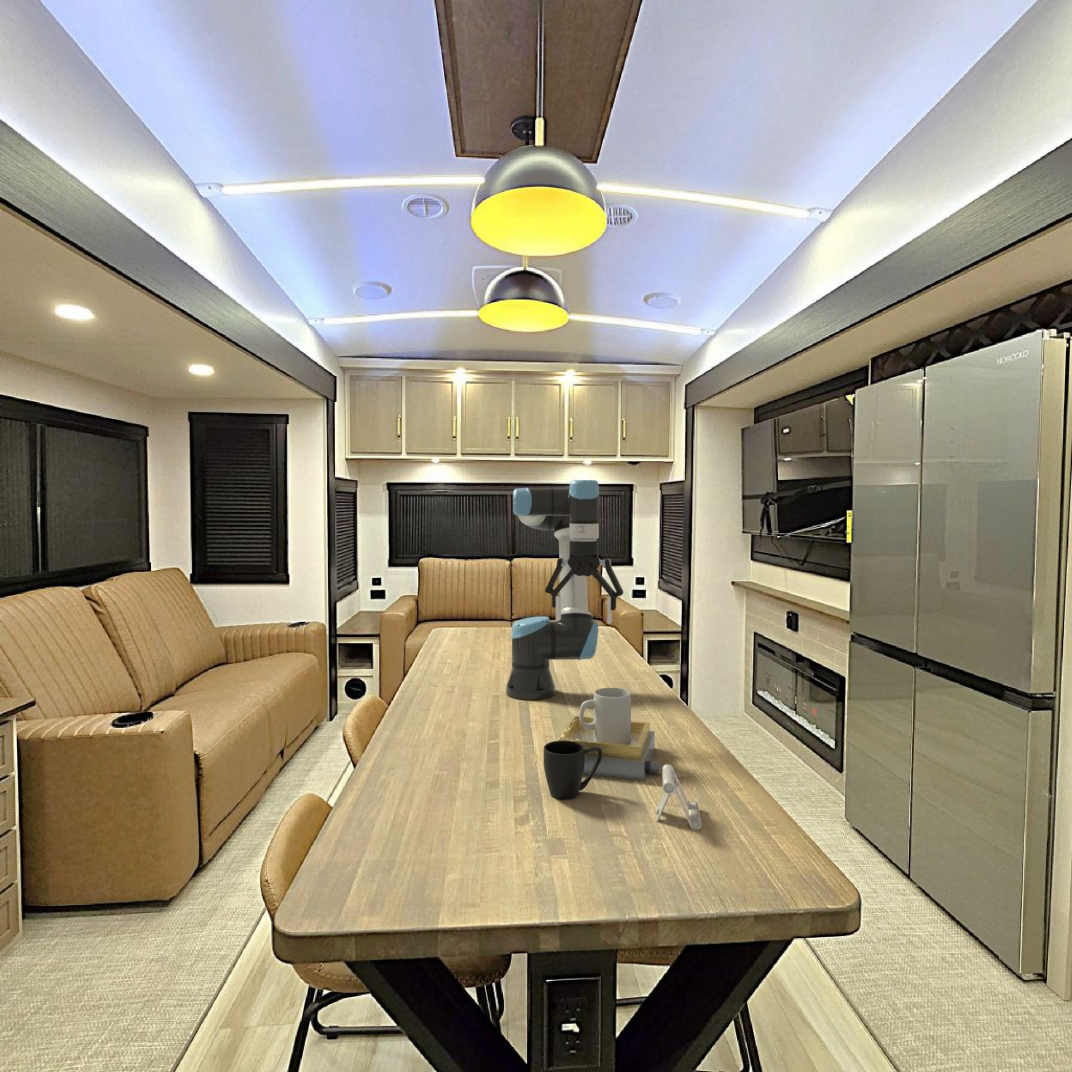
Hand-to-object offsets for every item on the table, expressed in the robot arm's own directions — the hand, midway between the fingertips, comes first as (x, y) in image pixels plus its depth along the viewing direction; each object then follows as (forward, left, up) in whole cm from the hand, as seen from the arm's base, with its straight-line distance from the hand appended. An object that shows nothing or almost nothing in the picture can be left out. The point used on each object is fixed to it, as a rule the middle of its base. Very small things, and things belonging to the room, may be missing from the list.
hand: (583, 621), depth 173 cm
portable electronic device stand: (+27, -45, -28) cm, 60 cm away
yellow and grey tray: (+11, -20, -28) cm, 36 cm away
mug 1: (+6, -40, -28) cm, 49 cm away
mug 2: (+9, -20, -24) cm, 32 cm away
